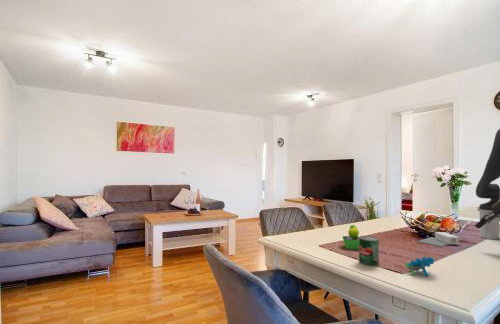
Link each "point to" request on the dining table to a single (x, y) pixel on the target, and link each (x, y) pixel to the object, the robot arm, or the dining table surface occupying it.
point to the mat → (433, 242)
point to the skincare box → (447, 238)
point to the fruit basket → (352, 238)
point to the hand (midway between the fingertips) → (476, 226)
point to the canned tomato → (369, 250)
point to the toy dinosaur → (420, 264)
